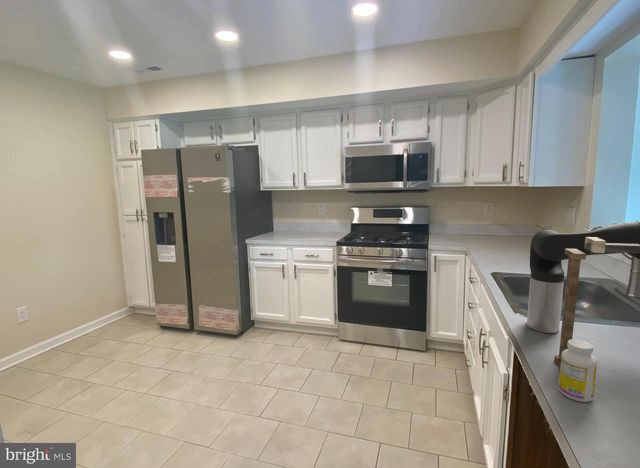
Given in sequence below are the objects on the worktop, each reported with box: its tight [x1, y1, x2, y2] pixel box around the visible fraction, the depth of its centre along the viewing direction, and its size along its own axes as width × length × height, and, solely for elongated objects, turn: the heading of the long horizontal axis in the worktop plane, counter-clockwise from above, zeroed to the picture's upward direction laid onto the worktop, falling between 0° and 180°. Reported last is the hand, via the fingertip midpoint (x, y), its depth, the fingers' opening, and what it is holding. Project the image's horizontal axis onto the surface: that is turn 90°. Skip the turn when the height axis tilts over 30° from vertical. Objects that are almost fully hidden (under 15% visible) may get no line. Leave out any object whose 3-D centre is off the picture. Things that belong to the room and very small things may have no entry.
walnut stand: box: [554, 249, 587, 368], centre depth 89 cm, size 6×2×32 cm, turn 162°
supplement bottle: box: [558, 338, 598, 403], centre depth 79 cm, size 7×7×13 cm
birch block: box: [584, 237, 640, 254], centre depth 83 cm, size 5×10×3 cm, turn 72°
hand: (637, 252), depth 82 cm, fingers open, 8 cm apart
